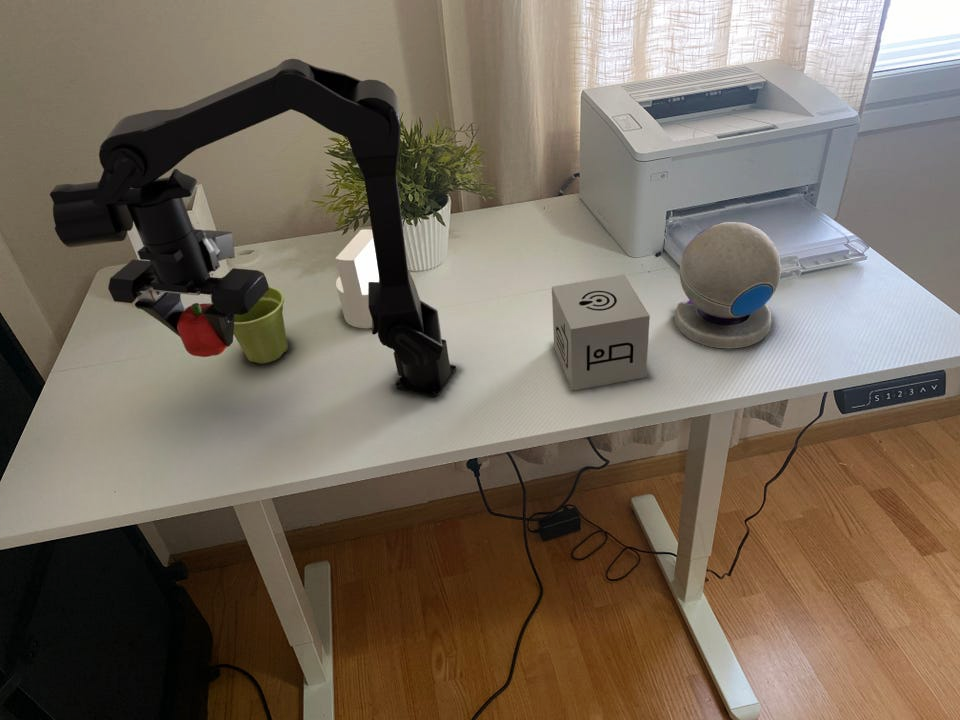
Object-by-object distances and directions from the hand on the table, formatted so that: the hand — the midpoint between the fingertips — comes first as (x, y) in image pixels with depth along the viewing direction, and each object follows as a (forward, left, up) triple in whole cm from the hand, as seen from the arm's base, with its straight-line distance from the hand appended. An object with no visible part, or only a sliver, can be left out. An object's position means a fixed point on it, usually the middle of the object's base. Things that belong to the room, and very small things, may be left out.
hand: (209, 342), depth 93 cm
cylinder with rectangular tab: (-6, -26, -11) cm, 29 cm away
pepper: (0, 0, -1) cm, 1 cm away
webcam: (-57, -39, -11) cm, 70 cm away
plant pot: (+4, -12, -11) cm, 17 cm away
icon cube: (-43, -25, -11) cm, 51 cm away
